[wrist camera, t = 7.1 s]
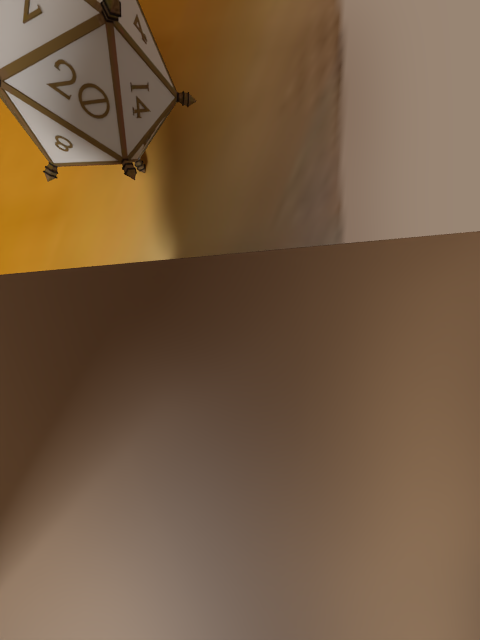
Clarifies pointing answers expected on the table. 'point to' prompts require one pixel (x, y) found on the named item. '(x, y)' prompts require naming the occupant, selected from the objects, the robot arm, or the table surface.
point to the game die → (84, 80)
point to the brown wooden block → (244, 446)
